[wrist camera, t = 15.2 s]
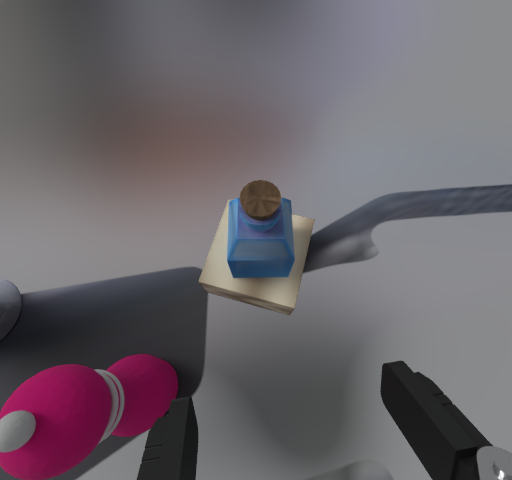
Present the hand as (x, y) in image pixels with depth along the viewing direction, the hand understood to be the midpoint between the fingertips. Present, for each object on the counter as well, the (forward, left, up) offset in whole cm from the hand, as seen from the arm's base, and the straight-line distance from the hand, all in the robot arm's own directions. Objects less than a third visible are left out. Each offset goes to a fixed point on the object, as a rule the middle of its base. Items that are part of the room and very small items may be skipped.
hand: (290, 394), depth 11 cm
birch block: (-4, +12, -23) cm, 27 cm away
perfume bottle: (-4, +12, -17) cm, 21 cm away
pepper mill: (-13, -5, -23) cm, 27 cm away
